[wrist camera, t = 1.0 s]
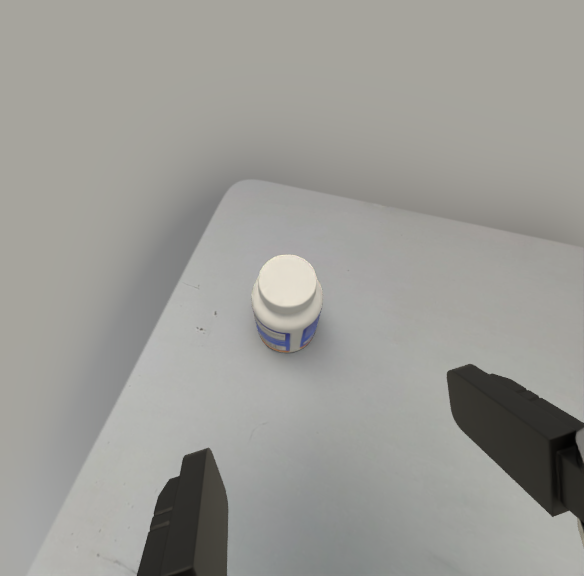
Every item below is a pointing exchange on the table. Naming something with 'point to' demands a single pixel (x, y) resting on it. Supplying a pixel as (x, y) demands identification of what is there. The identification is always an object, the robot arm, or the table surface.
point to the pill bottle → (287, 303)
